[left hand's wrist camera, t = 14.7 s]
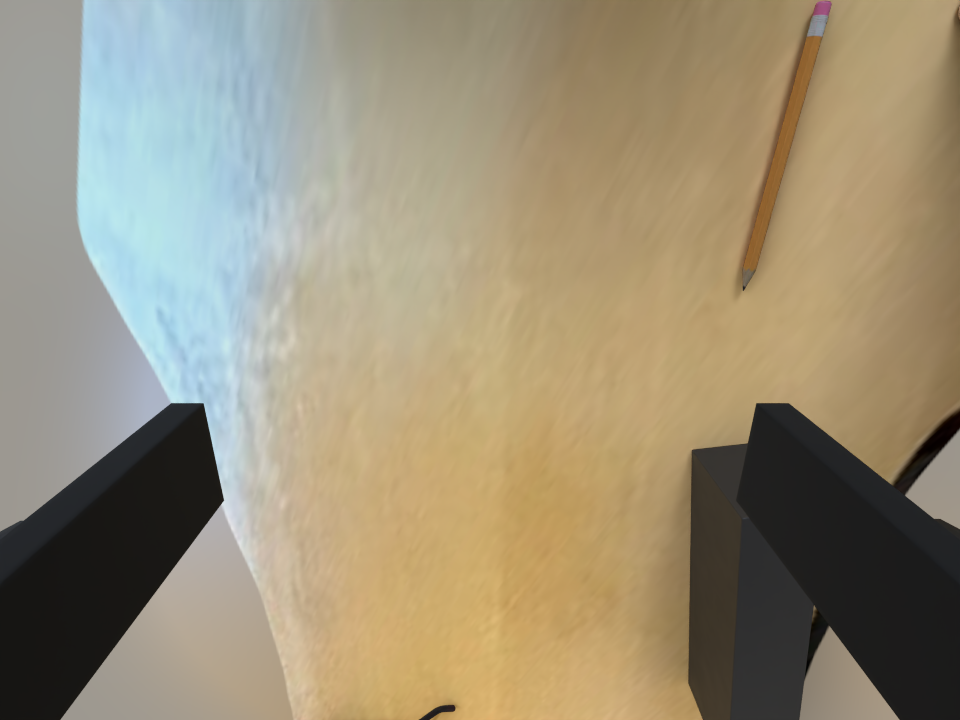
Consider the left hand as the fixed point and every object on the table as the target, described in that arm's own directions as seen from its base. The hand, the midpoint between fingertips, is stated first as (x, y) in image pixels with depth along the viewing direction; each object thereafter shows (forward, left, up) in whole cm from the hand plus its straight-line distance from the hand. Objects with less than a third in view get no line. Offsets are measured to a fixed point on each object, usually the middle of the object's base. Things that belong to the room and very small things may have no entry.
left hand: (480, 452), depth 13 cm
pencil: (-12, +19, -29) cm, 37 cm away
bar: (+24, +31, -29) cm, 49 cm away
